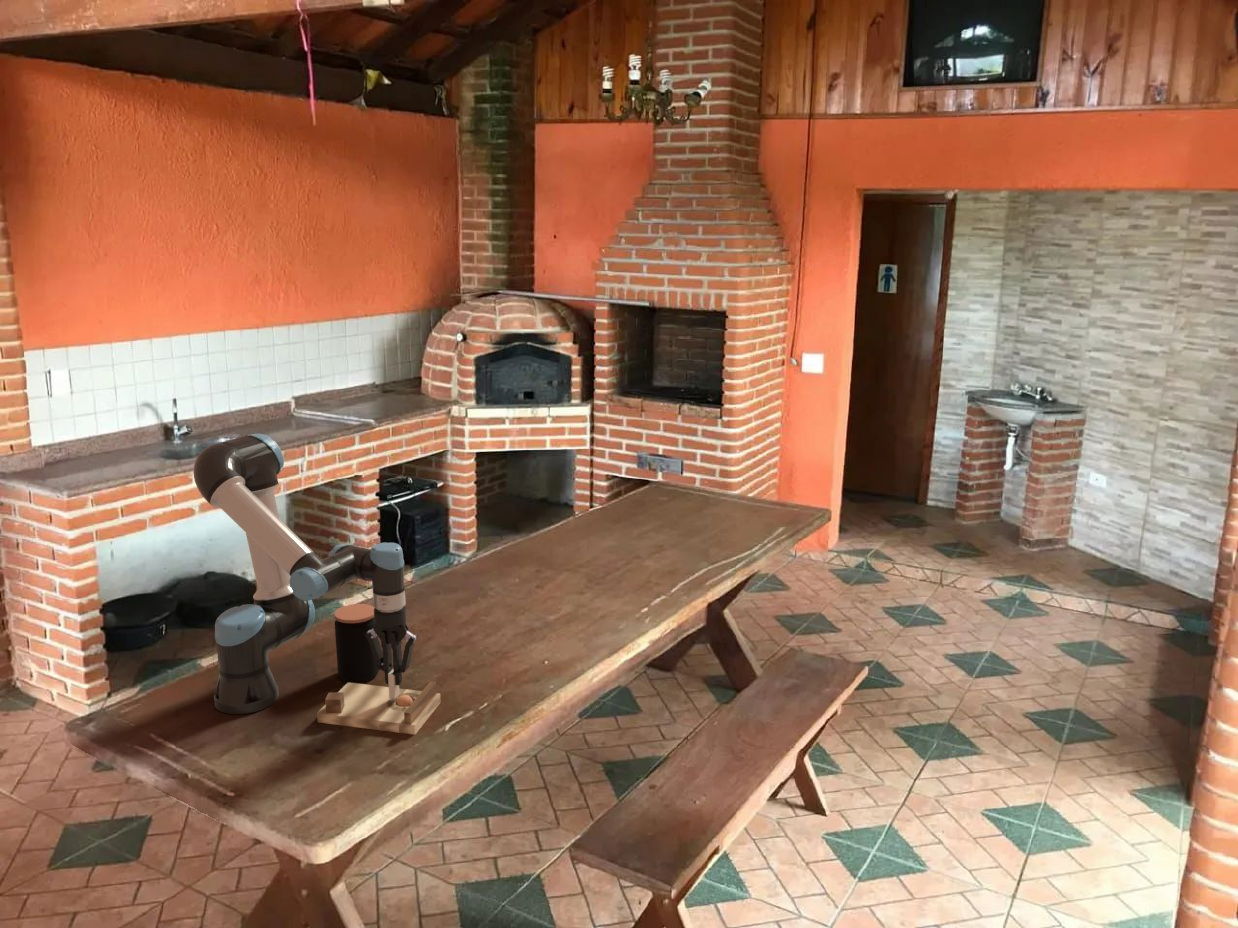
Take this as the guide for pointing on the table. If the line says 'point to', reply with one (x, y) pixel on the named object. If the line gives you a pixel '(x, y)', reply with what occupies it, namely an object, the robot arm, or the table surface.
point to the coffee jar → (354, 643)
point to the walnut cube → (334, 702)
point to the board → (383, 708)
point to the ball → (404, 701)
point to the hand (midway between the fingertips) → (394, 695)
